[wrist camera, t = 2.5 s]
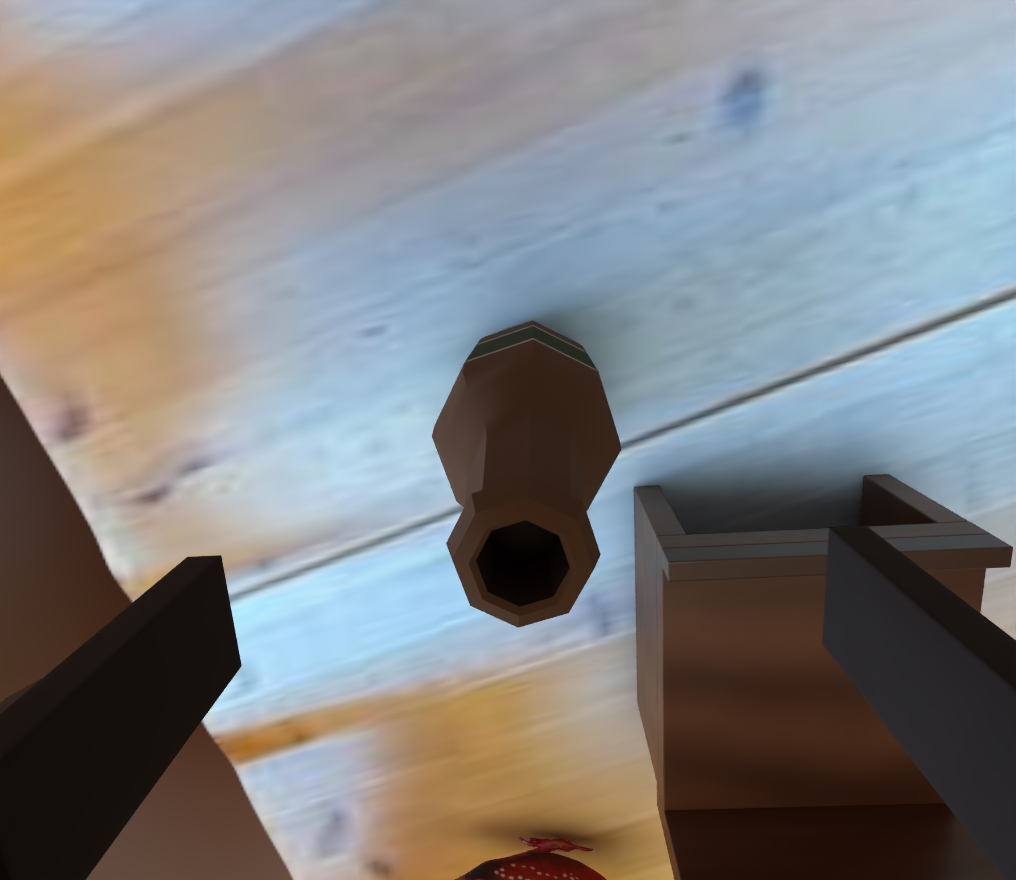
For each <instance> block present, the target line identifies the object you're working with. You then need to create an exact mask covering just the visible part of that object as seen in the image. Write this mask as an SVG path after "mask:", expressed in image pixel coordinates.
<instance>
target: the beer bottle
mask: <svg viewBox="0 0 1016 880" xmlns="http://www.w3.org/2000/svg"><path fill="white" fill-rule="evenodd" d="M432 438H433V441H434V443H435V446H436V449H437V451H438V454H439V457H440V459H441V462H442V464H443V467H444V470H445V472H446V475H447V478H448V480H449V483H450V485H451V488H452V491H453V493H454V496H455V499H456V501H457V502H458V503H459V504H460V505H462V506H463V507H464V509H463V511H462V513H461V515H460V517H459V519H458V521H457V523H456V525H455V527H454V529H453V531H452V533H451V535H450V537H449V539H448V541H447V543H446V544H447V547H448V549H449V552H450V555H451V557H452V560H453V563H454V565H455V568H456V570H457V573H458V575H459V578H460V580H461V583H462V586H463V588H464V591H465V593H466V596H467V598H468V601H469V603H470V606H472V607H474V608H477V609H479V610H481V611H483V612H485V613H487V614H490V615H492V616H494V617H496V618H498V619H501V620H503V621H505V622H507V623H509V624H512V625H514V626H516V627H522V626H525V625H529V624H532V623H535V622H539V621H542V620H546V619H549V618H553V617H556V616H560V615H563V614H567V613H569V611H570V610H571V608H572V606H573V605H574V603H575V601H576V599H577V598H578V596H579V594H580V592H581V591H582V589H583V587H584V585H585V584H586V582H587V580H588V579H589V577H590V575H591V573H592V572H593V570H594V568H595V566H596V563H597V561H598V559H599V557H600V555H601V554H600V551H599V548H598V545H597V542H596V539H595V536H594V533H593V530H592V527H591V524H590V521H589V518H588V515H587V512H586V511H587V510H588V508H589V506H590V505H591V503H592V501H593V499H594V497H595V496H596V494H597V492H598V490H599V488H600V487H601V485H602V483H603V481H604V479H605V478H606V476H607V474H608V472H609V471H610V469H611V467H612V465H613V463H614V462H615V460H616V458H617V456H618V454H619V453H620V451H621V446H620V441H619V437H618V434H617V430H616V427H615V424H614V421H613V418H612V414H611V411H610V408H609V405H608V401H607V398H606V395H605V392H604V389H603V385H602V382H601V379H600V376H599V372H598V370H597V369H596V367H595V366H594V364H593V362H592V361H591V359H590V358H589V356H588V354H587V353H586V351H585V350H584V348H583V346H581V345H580V344H578V343H576V342H574V341H572V340H570V339H568V338H566V337H564V336H562V335H560V334H558V333H556V332H554V331H552V330H550V329H548V328H546V327H544V326H542V325H540V324H538V323H536V322H534V321H530V322H527V323H524V324H521V325H518V326H515V327H513V328H510V329H507V330H504V331H501V332H498V333H495V334H492V335H489V336H486V337H484V338H482V339H480V341H479V342H478V344H477V345H476V347H475V348H474V349H473V351H472V352H471V354H470V355H469V357H468V358H467V360H466V361H465V363H464V365H463V367H462V369H461V371H460V373H459V375H458V377H457V380H456V382H455V384H454V386H453V388H452V390H451V392H450V394H449V396H448V399H447V401H446V403H445V405H444V407H443V409H442V411H441V413H440V415H439V417H438V420H437V422H436V424H435V426H434V430H433V434H432Z"/></svg>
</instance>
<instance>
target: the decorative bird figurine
mask: <svg viewBox="0 0 1016 880" xmlns="http://www.w3.org/2000/svg"><path fill="white" fill-rule="evenodd" d="M519 839H520V840H521V841H522V842H524V843H525V844H527V845H529V846H533V847H537V846H538V848H536V849H533V850H529V851H527V852H523V853H520V854H516V855H513V856H510V857H505V858H500V859H494V860H489V861H486V862H484V863H482V864H480V865H479V866H477V867H476V868H474V869H473V870H471V871H470V872H468V873H466V874H465V875H463V876H461V877H459V878H458V879H455V880H606V879H605V878H604V877H603V876H602V875H600V874H599V873H597V872H596V871H594V870H593V869H591V868H589V867H588V866H586V865H584V864H583V863H581V862H579V861H577V860H574V859H571V858H568V857H565V856H562V855H558V854H554V853H549V852H551V851H555V850H559V851H564V852H569V851H571V850H574V849H580V850H583V851H592V850H593V849H589V848H584V847H580V846H577V845H574V844H572V843H571V842H570V841H567V840H563V839H554V840H549V839H538V838H530V842H528V841H526V840H524V839H522V838H519ZM532 841H536V842H532Z"/></svg>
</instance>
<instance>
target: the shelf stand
mask: <svg viewBox="0 0 1016 880" xmlns="http://www.w3.org/2000/svg"><path fill="white" fill-rule="evenodd" d="M860 526H867V527H869V528H870V529H871V530H872V531H874V532H875V533H876V534H878V535H879V536H880V537H882V538H883V539H884V540H885V541H887V542H888V543H889V544H891V545H892V546H893V547H895V548H896V549H897V550H899V551H900V552H901V553H902V554H904V555H905V556H906V557H908V558H909V559H910V560H912V561H913V562H914V563H915V564H917V565H918V566H919V567H921V568H922V569H923V570H925V571H926V572H927V573H928V574H930V575H931V576H932V577H934V578H935V579H936V580H938V581H939V582H940V583H942V584H943V585H944V586H945V587H947V588H948V589H949V590H951V591H952V592H953V593H955V594H956V595H957V596H958V597H960V598H961V599H962V600H964V601H965V602H966V603H968V604H969V605H970V606H971V607H973V608H974V609H975V610H977V611H978V612H979V613H980V611H981V603H982V596H983V588H984V580H985V572H986V568H1002V567H1010V566H1011V559H1012V551H1013V547H1012V546H1010V545H1009V544H1007V543H1005V542H1003V541H1002V540H1000V539H998V538H997V537H995V536H993V535H991V534H990V533H988V532H987V531H985V530H983V529H982V528H980V527H978V526H976V525H975V524H973V523H971V522H969V521H967V520H966V519H964V518H962V517H960V516H959V515H957V514H955V513H954V512H952V511H950V510H949V509H947V508H945V507H943V506H942V505H940V504H938V503H937V502H935V501H933V500H931V499H930V498H928V497H926V496H925V495H923V494H921V493H920V492H918V491H916V490H914V489H913V488H911V487H909V486H908V485H906V484H904V483H903V482H901V481H899V480H897V479H896V478H894V477H892V476H891V475H869V476H864V482H863V496H862V509H861V523H860ZM634 527H635V585H636V642H637V700H638V706H639V710H640V715H641V719H642V723H643V727H644V731H645V735H646V739H647V743H648V748H649V752H650V756H651V760H652V764H653V768H654V772H655V776H656V780H657V806H658V811H659V815H660V819H661V823H662V828H663V832H664V836H665V841H666V845H667V849H668V853H669V858H670V862H671V866H672V871H673V875H674V879H675V880H1005V879H1004V878H1003V877H1002V875H1001V874H1000V873H999V872H998V870H997V869H996V868H995V866H994V865H993V864H992V863H991V861H990V860H989V859H988V857H987V856H986V855H985V853H984V852H983V851H982V850H981V848H980V847H979V846H978V844H977V843H976V842H975V841H974V839H973V838H972V837H971V835H970V834H969V833H968V832H967V830H966V829H965V828H964V826H963V825H962V824H961V823H960V821H959V820H958V819H957V817H956V816H955V815H954V813H953V812H952V811H951V810H950V808H949V807H948V806H947V804H946V803H945V802H944V801H943V799H942V798H941V797H940V795H939V794H938V793H937V792H936V790H935V789H934V788H933V786H932V785H931V784H930V783H929V781H928V780H927V779H926V777H925V776H924V775H923V773H922V772H921V771H920V770H919V768H918V767H917V766H916V764H915V763H914V762H913V761H912V759H911V758H910V757H909V755H908V754H907V753H906V752H905V750H904V749H903V748H902V746H901V745H900V744H899V743H898V741H897V740H896V739H895V737H894V736H893V735H892V733H891V732H890V731H889V730H888V728H887V727H886V726H885V724H884V723H883V722H882V721H881V719H880V718H879V717H878V715H877V714H876V713H875V712H874V710H873V709H872V708H871V706H870V705H869V704H868V703H867V701H866V700H865V699H864V697H863V696H862V695H861V693H860V692H859V691H858V690H857V688H856V687H855V686H854V684H853V683H852V682H851V681H850V679H849V678H848V677H847V675H846V674H845V673H844V672H843V670H842V669H841V668H840V666H839V665H838V664H837V663H836V661H835V660H834V659H833V657H832V656H831V655H830V653H829V652H828V651H827V650H826V648H825V647H824V646H823V644H822V637H823V620H824V603H825V586H826V570H827V553H828V536H829V528H825V529H803V530H781V531H759V532H737V533H716V534H694V535H686V533H685V531H684V529H683V528H682V526H681V524H680V522H679V521H678V519H677V517H676V515H675V514H674V512H673V510H672V508H671V507H670V505H669V503H668V501H667V500H666V498H665V496H664V494H663V493H662V491H661V489H660V488H659V486H644V487H634Z"/></svg>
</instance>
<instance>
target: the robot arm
mask: <svg viewBox="0 0 1016 880" xmlns="http://www.w3.org/2000/svg"><path fill="white" fill-rule="evenodd" d="M822 644H823V646H824V647H825V648H826V650H827V651H828V652H829V653H830V655H831V656H832V657H833V659H834V660H835V661H836V663H837V664H838V665H839V666H840V668H841V669H842V670H843V672H844V673H845V674H846V675H847V677H848V678H849V679H850V681H851V682H852V683H853V684H854V686H855V687H856V688H857V690H858V691H859V692H860V693H861V695H862V696H863V697H864V699H865V700H866V701H867V703H868V704H869V705H870V706H871V708H872V709H873V710H874V712H875V713H876V714H877V715H878V717H879V718H880V719H881V721H882V722H883V723H884V724H885V726H886V727H887V728H888V730H889V731H890V732H891V733H892V735H893V736H894V737H895V739H896V740H897V741H898V743H899V744H900V745H901V746H902V748H903V749H904V750H905V752H906V753H907V754H908V755H909V757H910V758H911V759H912V761H913V762H914V763H915V764H916V766H917V767H918V768H919V770H920V771H921V772H922V773H923V775H924V776H925V777H926V779H927V780H928V781H929V783H930V784H931V785H932V786H933V788H934V789H935V790H936V792H937V793H938V794H939V795H940V797H941V798H942V799H943V801H944V802H945V803H946V804H947V806H948V807H949V808H950V810H951V811H952V812H953V813H954V815H955V816H956V817H957V819H958V820H959V821H960V823H961V824H962V825H963V826H964V828H965V829H966V830H967V832H968V833H969V834H970V835H971V837H972V838H973V839H974V841H975V842H976V843H977V844H978V846H979V847H980V848H981V850H982V851H983V852H984V853H985V855H986V856H987V857H988V859H989V860H990V861H991V863H992V864H993V865H994V866H995V868H996V869H997V870H998V872H999V873H1000V874H1001V875H1002V877H1003V878H1004V879H1005V880H1016V640H1014V639H1013V638H1012V637H1011V636H1009V635H1008V634H1007V633H1005V632H1004V631H1003V630H1001V629H1000V628H999V627H998V626H996V625H995V624H994V623H992V622H991V621H990V620H988V619H987V618H986V617H985V616H983V615H982V614H981V613H979V612H978V611H977V610H975V609H974V608H973V607H971V606H970V605H969V604H968V603H966V602H965V601H964V600H962V599H961V598H960V597H958V596H957V595H956V594H955V593H953V592H952V591H951V590H949V589H948V588H947V587H945V586H944V585H943V584H942V583H940V582H939V581H938V580H936V579H935V578H934V577H932V576H931V575H930V574H928V573H927V572H926V571H925V570H923V569H922V568H921V567H919V566H918V565H917V564H915V563H914V562H913V561H912V560H910V559H909V558H908V557H906V556H905V555H904V554H902V553H901V552H900V551H899V550H897V549H896V548H895V547H893V546H892V545H891V544H889V543H888V542H887V541H885V540H884V539H883V538H882V537H880V536H879V535H878V534H876V533H875V532H874V531H872V530H871V529H870V528H869V527H867V526H848V527H829V536H828V553H827V570H826V586H825V603H824V620H823V637H822ZM240 667H241V660H240V655H239V649H238V644H237V638H236V633H235V628H234V622H233V617H232V611H231V606H230V601H229V595H228V590H227V584H226V579H225V573H224V568H223V563H222V557H221V555H220V556H198V557H187V558H186V559H184V560H183V561H182V562H181V563H180V564H178V565H177V566H176V567H175V568H174V569H172V570H171V571H170V572H169V573H168V574H166V575H165V576H164V577H163V578H162V579H161V580H159V581H158V582H157V583H156V584H155V585H153V586H152V587H151V588H150V589H149V590H147V591H146V592H145V593H144V594H143V595H141V596H140V597H139V598H138V599H137V600H135V601H134V602H133V603H132V604H131V605H130V606H128V607H127V608H126V609H125V610H124V611H122V612H121V613H120V614H119V615H118V616H116V617H115V618H114V619H113V620H112V621H110V622H109V623H108V624H107V625H106V626H105V627H103V628H102V629H101V630H100V631H99V632H97V633H96V634H95V635H94V636H93V637H91V638H90V639H89V640H88V641H87V642H85V643H84V644H83V645H82V646H81V647H80V648H78V649H77V650H76V651H75V652H74V653H72V654H71V655H70V656H69V657H68V658H66V659H65V660H64V661H63V662H62V663H60V664H59V665H58V666H57V667H56V668H54V669H53V670H52V671H51V672H50V673H48V674H47V675H46V676H45V677H44V678H43V679H40V680H38V681H36V682H34V683H32V684H31V685H29V686H27V687H25V688H24V689H22V690H20V691H18V692H16V693H15V694H13V695H11V696H9V697H7V698H6V699H5V700H4V701H2V702H1V703H0V880H86V878H87V877H88V876H89V874H90V873H91V871H92V870H93V869H94V867H95V866H96V865H97V863H98V862H99V861H100V859H101V858H102V857H103V855H104V854H105V852H106V851H107V850H108V848H109V847H110V846H111V844H112V843H113V841H114V840H115V839H116V837H117V836H118V835H119V833H120V832H121V831H122V829H123V828H124V826H125V825H126V824H127V822H128V821H129V819H130V818H131V817H132V815H133V814H134V813H135V811H136V810H137V809H138V807H139V806H140V804H141V803H142V802H143V800H144V799H145V798H146V796H147V795H148V793H149V792H150V791H151V789H152V788H153V787H154V785H155V784H156V783H157V781H158V780H159V778H160V777H161V776H162V774H163V773H164V772H165V770H166V769H167V767H168V766H169V765H170V763H171V762H172V761H173V759H174V758H175V756H176V755H177V754H178V752H179V751H180V750H181V748H182V747H183V745H184V744H185V743H186V741H187V740H188V738H189V737H190V736H191V734H192V733H193V732H194V730H195V729H196V728H197V726H198V725H199V723H200V722H201V721H202V719H203V718H204V717H205V715H206V714H207V713H208V711H209V710H210V708H211V707H212V706H213V704H214V703H215V702H216V700H217V699H218V697H219V696H220V695H221V693H222V692H223V691H224V689H225V688H226V687H227V685H228V684H229V682H230V681H231V680H232V678H233V677H234V676H235V674H236V673H237V671H238V670H239V669H240Z"/></svg>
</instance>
